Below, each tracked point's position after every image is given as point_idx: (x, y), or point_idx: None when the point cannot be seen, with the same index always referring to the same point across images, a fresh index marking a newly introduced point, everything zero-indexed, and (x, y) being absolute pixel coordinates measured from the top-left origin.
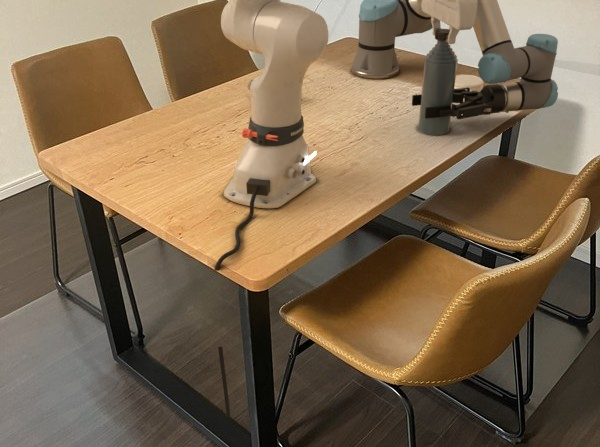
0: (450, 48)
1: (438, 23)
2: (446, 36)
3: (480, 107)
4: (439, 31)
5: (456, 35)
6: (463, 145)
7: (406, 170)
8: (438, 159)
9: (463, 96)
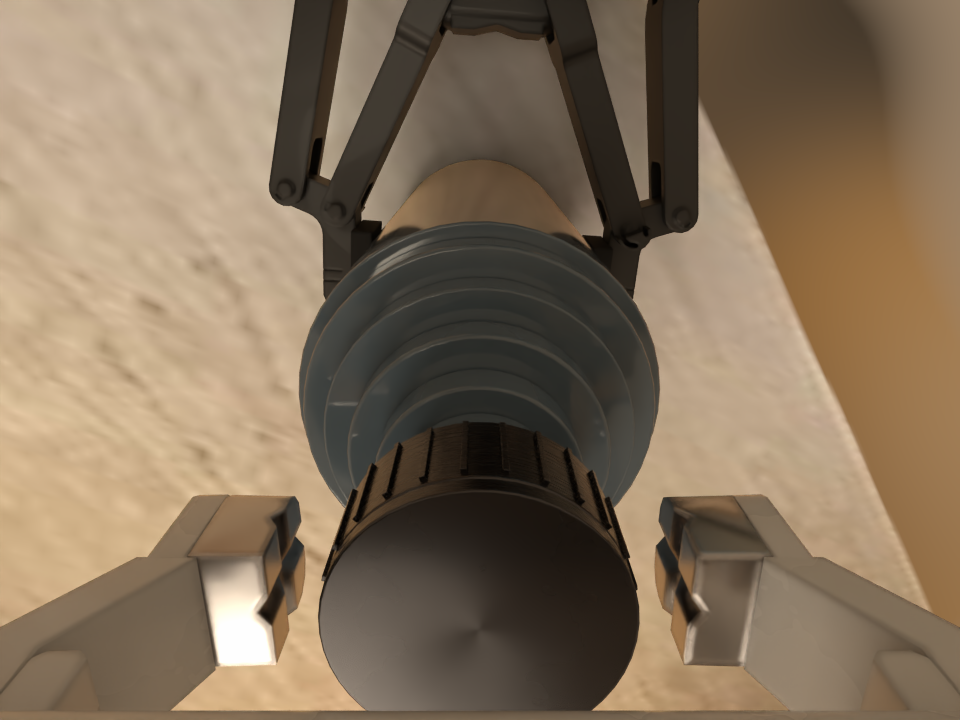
0: (500, 358)
1: (119, 643)
2: (686, 653)
3: (696, 36)
4: (483, 709)
5: (847, 576)
6: (720, 194)
7: (815, 538)
8: (794, 381)
9: (437, 33)
